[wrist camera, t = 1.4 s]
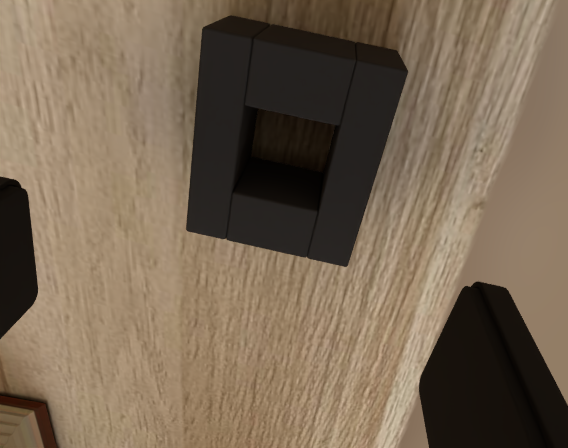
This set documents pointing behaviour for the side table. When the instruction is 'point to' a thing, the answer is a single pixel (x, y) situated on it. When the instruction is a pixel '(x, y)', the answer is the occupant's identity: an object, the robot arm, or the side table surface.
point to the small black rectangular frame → (296, 102)
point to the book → (24, 424)
